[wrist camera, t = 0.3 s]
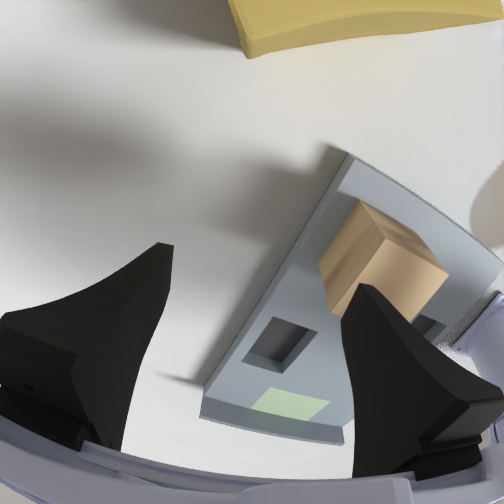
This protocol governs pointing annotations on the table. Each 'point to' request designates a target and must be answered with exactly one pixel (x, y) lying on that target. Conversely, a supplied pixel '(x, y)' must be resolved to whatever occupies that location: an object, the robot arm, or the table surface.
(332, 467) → the table surface
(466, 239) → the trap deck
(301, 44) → the cheese
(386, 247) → the oak block
